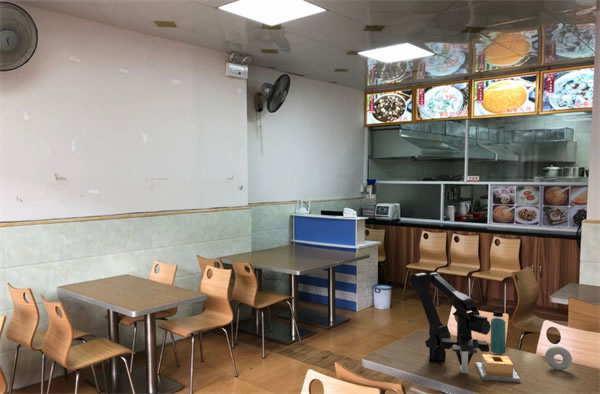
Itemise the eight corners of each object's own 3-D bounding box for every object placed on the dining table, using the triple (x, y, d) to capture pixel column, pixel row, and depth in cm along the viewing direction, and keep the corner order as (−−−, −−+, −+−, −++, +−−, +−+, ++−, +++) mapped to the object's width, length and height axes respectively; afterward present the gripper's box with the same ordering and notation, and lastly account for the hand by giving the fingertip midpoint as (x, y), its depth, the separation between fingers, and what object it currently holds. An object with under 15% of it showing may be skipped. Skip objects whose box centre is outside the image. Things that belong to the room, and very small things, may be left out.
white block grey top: (461, 372, 189) (461, 351, 189) (460, 369, 193) (460, 347, 193) (467, 373, 189) (467, 351, 189) (466, 369, 193) (466, 348, 192)
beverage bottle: (507, 358, 205) (507, 313, 205) (491, 356, 207) (492, 312, 206) (503, 352, 212) (504, 309, 211) (488, 351, 213) (489, 308, 212)
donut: (571, 370, 192) (571, 346, 192) (572, 373, 189) (573, 349, 188) (544, 366, 196) (544, 343, 196) (545, 369, 193) (545, 345, 192)
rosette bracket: (482, 379, 183) (482, 364, 183) (475, 364, 198) (475, 350, 198) (520, 382, 180) (520, 367, 180) (510, 367, 195) (510, 353, 195)
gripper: (443, 332, 184) (442, 371, 185) (492, 335, 181) (491, 375, 181) (440, 324, 195) (439, 360, 196) (486, 327, 192) (486, 364, 192)
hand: (463, 365), depth 191 cm, fingers closed on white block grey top, 2 cm apart
